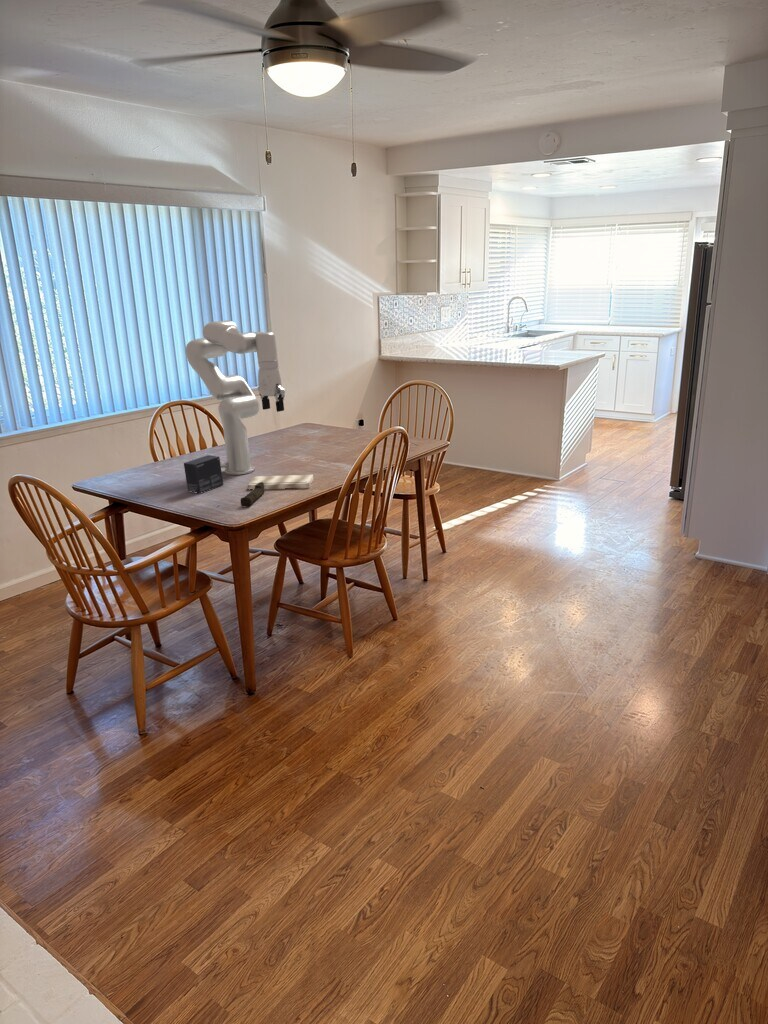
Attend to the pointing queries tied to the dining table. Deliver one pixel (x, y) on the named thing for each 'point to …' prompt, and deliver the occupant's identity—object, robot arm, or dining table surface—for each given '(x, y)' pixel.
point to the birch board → (282, 481)
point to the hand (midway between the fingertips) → (273, 410)
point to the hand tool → (253, 495)
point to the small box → (203, 473)
